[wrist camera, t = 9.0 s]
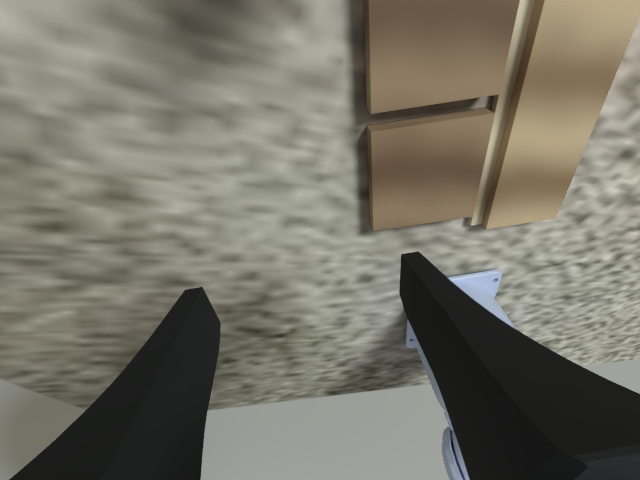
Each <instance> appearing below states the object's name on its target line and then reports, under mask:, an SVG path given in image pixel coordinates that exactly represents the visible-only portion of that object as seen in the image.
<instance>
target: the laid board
mask: <svg viewBox="0 0 640 480" xmlns="http://www.w3.org/2000/svg"><path fill="white" fill-rule="evenodd" d="M639 17H640V0H520V2H519V7H518V11H517V16H516V20H515V25H514V30H513V34H512V39H511V43H510V48H509V53H508V57H507V62H506V67H505V71H504V76H503V80H502V85H501V90H500V94H498V95H494V96H493V101H492V106H491V111H492V112H494V113H495V116H494V121H493V126H492V130H491V135H490V140H489V144H488V149H487V153H486V158H485V163H484V167H483V172H482V177H481V181H480V186H479V190H478V195H477V200H476V204H475V209H474V214H473V217H468V223H469V224H470V226H473V225H479V224H482V226H483V227H484V228H485V229H493V228H499V227H505V226H511V225H517V224H523V223H529V222H535V221H541V220H547V219H554V218H556V217H557V214H558V212H559V209H560V207H561V205H562V202H563V200H564V197H565V195H566V193H567V190H568V188H569V185H570V183H571V181H572V178H573V176H574V173H575V171H576V169H577V166H578V164H579V161H580V159H581V156H582V154H583V152H584V149H585V147H586V144H587V142H588V140H589V137H590V135H591V132H592V130H593V128H594V125H595V123H596V120H597V118H598V116H599V113H600V111H601V108H602V106H603V104H604V101H605V99H606V96H607V94H608V91H609V89H610V87H611V84H612V82H613V79H614V77H615V75H616V72H617V70H618V67H619V65H620V63H621V60H622V58H623V55H624V53H625V51H626V48H627V46H628V43H629V41H630V38H631V36H632V34H633V31H634V29H635V26H636V24H637V22H638V19H639Z"/></svg>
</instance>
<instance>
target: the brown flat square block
mask: <svg viewBox="0 0 640 480" xmlns="http://www.w3.org/2000/svg"><path fill="white" fill-rule="evenodd" d="M494 116H495V113H494V112H492V111H490V110H488V109H486V108H485V107H484V108H478V109H471V110H464V111H458V112H451V113H445V114H438V115H431V116H425V117H418V118H411V119H405V120H398V121H392V122H385V123H378V124H372V125H367V145H368V179H369V213H370V224H371V226H372V229H373V231H379V230H385V229H392V228H399V227H406V226H413V225H419V224H426V223H433V222H440V221H446V220H453V219H460V218H467V217H473V214H474V209H475V204H476V200H477V195H478V190H479V186H480V181H481V177H482V172H483V167H484V163H485V158H486V153H487V149H488V144H489V140H490V135H491V130H492V126H493V121H494Z"/></svg>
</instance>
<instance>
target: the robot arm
mask: <svg viewBox="0 0 640 480" xmlns="http://www.w3.org/2000/svg"><path fill="white" fill-rule="evenodd" d="M501 277H502V273H501V271H500V270H498V269H496V270H489V271H483V272H477V273H471V274H465V275H459V276H453V277H446V276H445V275H444V274H443V273H442V272H440V271H439V270H438V269H437V268H436V267H435V266H434V265H433V264H432V263H431V262H429V261H428V260H427V259H426V258H425V257H424V256H423V255H422V254H421V253H419V252H413V253H407V254H401V273H400V296H401V300H402V303H403V306H404V309H405V312H406V315H407V330H406V343H405V344H406V347H407V348H409V349H410V348H417V350H418V352H419V355H420V358H421V360H422V363H423V365H424V368H425V370H426V373H427V375H428V378H429V380H430V383H431V385H432V388H433V390H434V392H435V395H436V397H437V399H438V402H439V403H440V405H441V407H442V408H443V409H444V410H445V413H444V414H445V416H446V418H447V421H448V424H449V427H447V428H446V429H445V430H444V432H443V443H442V455H443V460H444V464H445V467H446V471H447V474H448V476H449V479H450V480H640V394H638V393H636V392H634V391H632V390H629V389H627V388H625V387H623V386H620V385H618V384H616V383H614V382H612V381H609V380H607V379H605V378H603V377H601V376H599V375H597V374H595V373H593V372H591V371H589V370H587V369H585V368H583V367H581V366H579V365H577V364H575V363H573V362H572V361H570V360H568V359H566V358H564V357H562V356H560V355H559V354H557V353H555V352H553V351H552V350H550V349H548V348H546V347H544V346H543V345H541V344H539V343H537V342H536V341H534V340H532V339H531V338H529V337H527V336H526V335H524V334H522V333H521V332H519V331H518V330H516V328H515V327H514V325H513V324H512V323H511V321H510V320H509V318H508V317H507V316H506V314H505V313H504V312H503V310H502V309H501V307H500V306H499V305H498V303H497V302H496V301H495V299H494V298H495V295H496V292H497V289H498V286H499V283H500V280H501ZM220 324H221V323H220V321H219V319H218V317H217V315H216V313H215V311H214V309H213V307H212V305H211V303H210V301H209V299H208V297H207V295H206V293H205V292H204V290H203V288H202V287H200V288H194V289H188V290H185V291H184V292H183V294H182V295H181V296H180V298H179V299H178V300H177V302H176V303H175V304H174V306H173V307H172V309H171V310H170V311H169V313H168V314H167V315H166V317H165V318H164V320H163V321H162V322H161V324H160V325H159V326H158V328H157V329H156V330H155V332H154V333H153V334H152V336H151V337H150V338H149V339H148V341H147V342H146V343H145V345H144V346H143V347H142V348H141V350H140V351H139V352H138V353H137V354H136V356H135V357H134V358H133V359H132V361H131V362H130V363H129V364H128V365H127V367H126V368H125V369H124V370H123V371H122V373H121V374H120V375H119V376H118V377H117V378H116V379H115V381H114V382H113V383H112V384H111V385H110V386H109V387H108V388H107V389H106V390H105V391H104V392H103V393H102V395H101V396H100V397H99V398H98V399H97V400H96V401H95V402H94V403H93V404H92V405H91V406H90V407H89V408H88V409H87V410H86V411H85V412H84V413H83V414H82V415H81V416H80V417H79V418H78V419H77V420H76V421H75V422H73V423H72V425H70V426H69V427H68V428H67V429H66V430H65V431H64V432H63V433H62V434H61V435H60V436H59V437H58V438H57V439H56V440H55V441H54V442H52V443H51V444H50V445H49V446H48V447H47V448H46V449H45V450H43V451H42V452H41V453H40V454H39V455H38V456H37V457H36V458H34V459H33V460H32V461H31V462H30V463H29V464H27V465H26V466H25V467H24V468H23V469H22V470H20V471H19V472H18V473H17V474H16V475H14V476H13V477H12V478H11V479H10V480H200V478H201V463H202V451H203V439H204V430H205V422H206V416H207V410H208V405H209V400H210V394H211V389H212V384H213V379H214V374H215V369H216V363H217V358H218V352H219V342H220Z"/></svg>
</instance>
